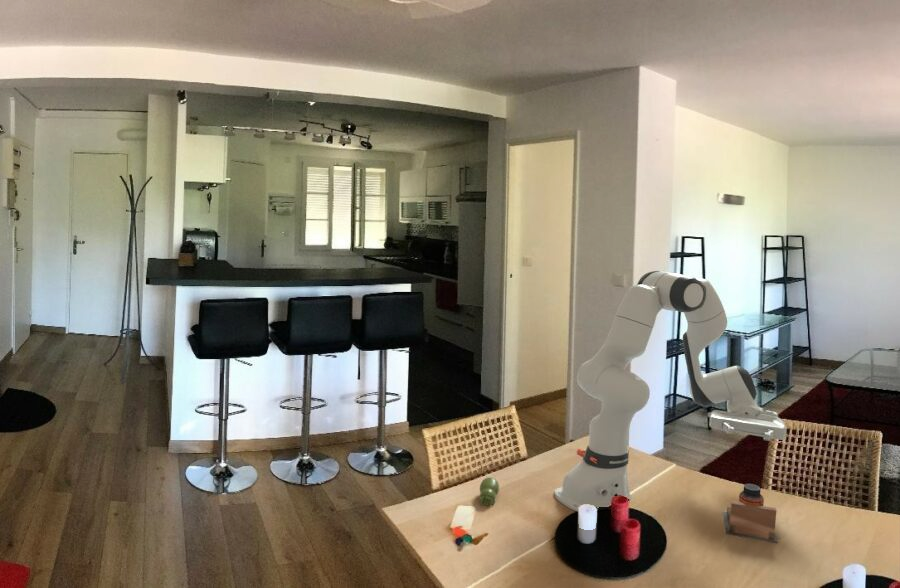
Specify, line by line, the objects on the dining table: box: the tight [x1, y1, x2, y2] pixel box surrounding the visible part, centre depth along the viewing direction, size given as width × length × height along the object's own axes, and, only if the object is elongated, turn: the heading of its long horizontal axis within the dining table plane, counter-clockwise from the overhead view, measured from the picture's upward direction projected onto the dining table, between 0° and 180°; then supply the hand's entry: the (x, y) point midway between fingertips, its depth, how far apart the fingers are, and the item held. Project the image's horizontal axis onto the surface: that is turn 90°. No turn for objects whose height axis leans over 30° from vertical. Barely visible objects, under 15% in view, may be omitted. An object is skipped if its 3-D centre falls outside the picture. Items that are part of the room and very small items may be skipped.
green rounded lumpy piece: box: [479, 477, 500, 506], centre depth 178 cm, size 6×5×10 cm
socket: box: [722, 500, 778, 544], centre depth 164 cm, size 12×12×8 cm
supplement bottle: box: [738, 483, 765, 506], centre depth 164 cm, size 6×6×11 cm
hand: (748, 434), depth 173 cm, fingers open, 8 cm apart
